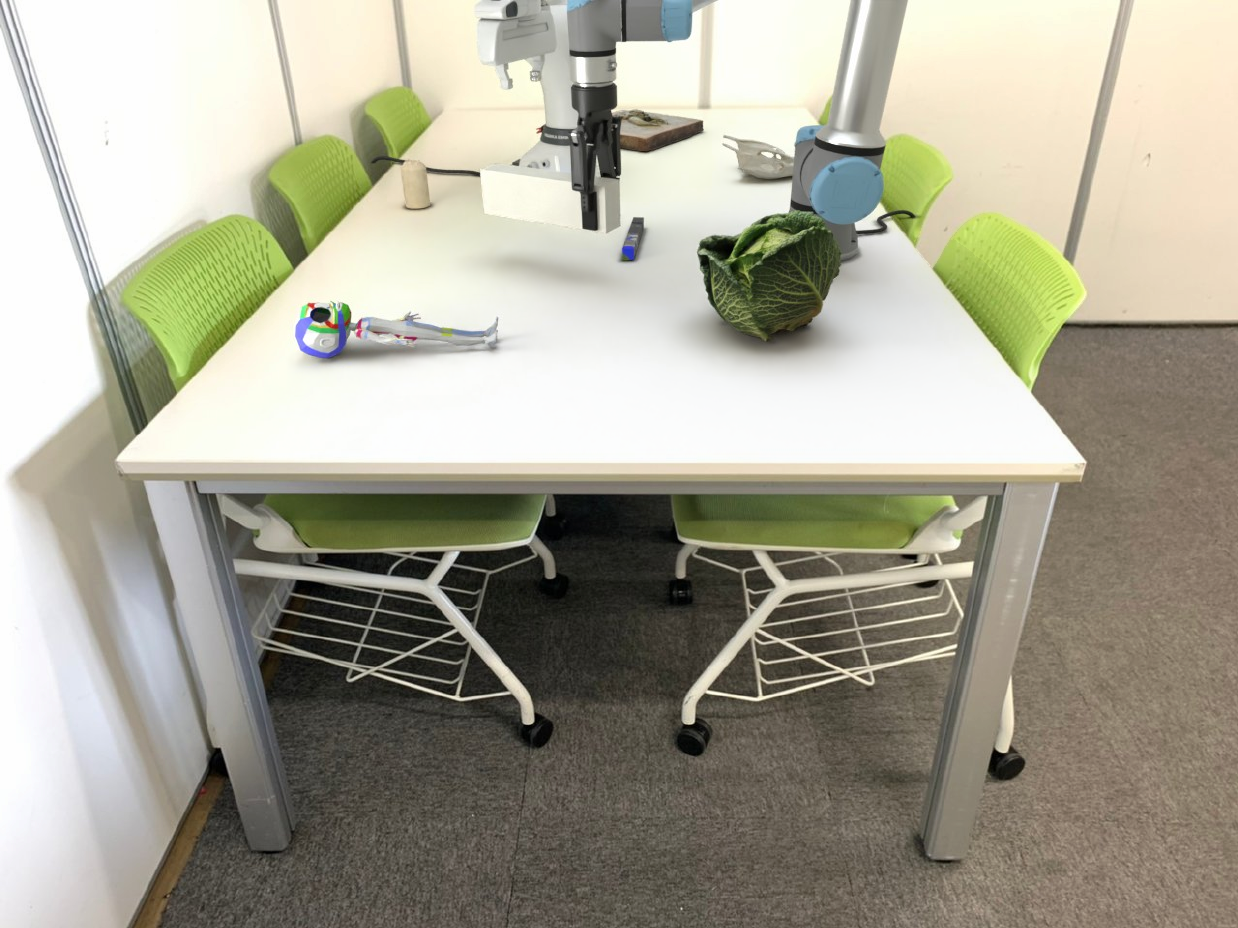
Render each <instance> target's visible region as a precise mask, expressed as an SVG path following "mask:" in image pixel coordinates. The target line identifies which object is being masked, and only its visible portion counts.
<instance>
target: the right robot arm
mask: <svg viewBox="0 0 1238 928" xmlns="http://www.w3.org/2000/svg"><path fill="white" fill-rule="evenodd" d="M717 1H718V0H567V21H568V38H569V54H570V55H569V61H570V80H571V81H572V82H574V84H573V85H572V87H571V102H572V108H573V109H574V110H576V111H577V112H578V121H577V127H576V129H575V130H568V133H567V135H568V139H569V143H570V158H571V181H572V190H573V191H577V192H580V195H581V210H582V229H586V230H593V231H597V230H598V219H597V192H593V190H594V179H595V168H596V162H597V166H598V172H599V176H600V177H604V178H611V179H619V180H620V181H621V178H620V177H621V175H622V154H621V153H622V152H621V151H622V150H621V149H622V148H621V145H620V129H621V122H622V119H621V117H618V116H612V113H613V112H612V111H613V110H614V109H616V108H617V107H618V85H617V83H615V81H616V80H617V79H618V77H617V67H618V63H617V43H627V42H667V43H672V42H676V41H686V40H688V39H689V38H690V37H691V35H692V30H693V13H695V12H698V11H700V10H702V9H704V8H706V7H707V6H709V5H712V4H714V3H716V2H717ZM908 3H909V0H850V2H849V6H848V13H847V17H846V23H845V28H844V33H843V38H842V44H841V49H840V54H839V60H838V65H837V66H838V67H837V70H836V76H835V81H834V86H833V91H832V96H831V102H830V107H829V113H828V118H827V123H826V124H815V125H813V124H812V125H805V126H802V127H800V128H798V130H797V132H796V137H795V142H794V144H793V146H794V154H793V155H794V156H793V157H794V167H793V176H792V179H791V192H790V193H791V194H790V204H789V210H788V212H787V213H790V212H792V211H793V210H797V211H798V210H799V211H801V212H813V213H814V215H815V216H817V217H819V218H822V219H823V221H824V222H825V226H826V229H827V231H830V230H831V232H832V234H833V235H834V239H835V241H836V242H837V243H838V245H839V249H840V251H841V253H842V254H841V256H840V262H843V261H844V262H845V261H847V260H850V259H852V258H854V257H855V256H856V255H857V253H858V247H859V239H858V235H869V234H879V233H883V232H885V231H886V230H887V229H888V225H887V223H885V222H884V221H883V220H884V219H888V218H889V217H892V216H897V215H906V216H909V217H910V218H912V219H915V218H916V215H915V214H914V213H913V212H912V211H910V210H906V209H899V210H893V211H889V212H887V213H883V214H882V215H879V216H878V217H877V219H876V222H877V223H878V224H879V226H881V227H880V228H875V229H860V230H857V228H856V224H855V223H858V222H860V221H863V220H864V219H865V218H867V217H868V216H869V215H871V214H872V213H873V212H874V211H875V210H876V208H877V207H878V206H879V204H880V202H881V201H882V198H883V194H884V189H885V181H884V175H883V173H882V170H881V168H882V163H883V159H884V155H885V150H886V146H887V140H886V139H885V137H884V136H883V134H882V132H881V125H882V121H883V116H884V111H885V107H886V103H887V98H888V93H889V89H890V84H891V79H892V75H893V70H894V65H895V61H896V58H897V53H898V48H899V44H900V39H901V34H902V30H903V26H904V20H905V16H906V12H907V7H908ZM586 144H593V145H586Z"/></svg>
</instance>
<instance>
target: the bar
mask: <svg viewBox="0 0 1238 928" xmlns="http://www.w3.org/2000/svg"><path fill="white" fill-rule="evenodd" d="M479 172H480V176H479V177H480V185H481V195H482V204H483V214H484V215H489V216H495V217H501V218H508V219H513V220H519V221H524V222H525V221H526V222H531V223H539V224H543V225H551V226H556V227H562V228H569V229H572V230H573V229H575V230H579V231H585V232H586V231H587V232H591V233H596V234H597V233H598V234H603V235H607V234H609V233H611V232H613V231H614V230H616V229H618V228H620V227H621V187H620V186H621V182H620V181H621V179H620V180H619V179H611V178H604V177H596V176H595V179H594V190H593V192H597V219H598V230H597V231H593V230H586V229H582V210H581V195H580V192H577V191H573V190H572V181H571V173H566V172H559V171H551V170H544V169H536V168H529V167H521V166H514V165H512V164H504V163H498V162H496V163H492V164H490V165H487V166H484V167H483V168H479Z"/></svg>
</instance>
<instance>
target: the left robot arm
mask: <svg viewBox="0 0 1238 928" xmlns="http://www.w3.org/2000/svg"><path fill="white" fill-rule="evenodd" d="M473 11H474V12H473V13H474V16H475V18H476V19H478V21H477V23H476V28H475V29H476V32H475V33H476V45H477V55H478V58H479V60H480V62H481V64H482V65H483V66H489V67H494V71H495V73H496V75H497V78H498V79H499V83H500V89H501V90H502V91H503V90H504V91H509V90H511V89H512V90H513V88H514V84H513V81H514V80H513V78H511V77H510V75H509V73H508V70H509V64H510V63H511V64H512V63H514V62H518V61H519V62H520V61H522V60H523V61H524V60H525V61H526V62H527V63H528V64H529V65H530V66H531V70H530V71H529V79H530V81H531V82H539V83H540V86H541V90H542V97H543V106H544V118H545V119H544V120H545V123H544V124H543V125H541V126H540V127H537V128H535V130H536V132H535V133H536V134H540V138H539V141H538V142H536V143H535V144H534V145H533V146H532V147H530V149H529V150H527V151H526V152H525V153H524V154H523V155H522V156H521V157H520V158H519V159H517V160H515V161H512V162H511V163H512V164H511V165H514V166H521V167H529V168H536V169H544V170H551V171H559V172H566V173H571V158H570V143H569V139H568V135H567V133H568V130H575V129H576V127H577V121H578V112H577V111H576V110H574V109H573V108H572V102H571V87H572V85H573V84H574V82H572V81H571V80H570V61H569V55H570V54H569V38H568V21H567V0H480V1H479V2H477V3H476V4H474V7H473ZM586 145H593V144H586ZM382 160H383V161H390V162H394V163H398V164H403V163H404V162H405V161H406V160H407V159H401V158H396V157H392V156H386V155H380V156H379V155H378V156H376V157H375V158H373V159H372V160H371V162H370V164H376V163H377V162H379V161H382ZM426 172H430V173H436V174H451V175H452V174H454V175H455V174H457V175H458V174H459V175H473V176H478V177H481V176H480V171H476V170H470V169H441V168H433V167H428V166H426ZM595 176H596V177H600V172H599V167H598V161H596V168H595Z"/></svg>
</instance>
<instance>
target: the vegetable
mask: <svg viewBox="0 0 1238 928" xmlns="http://www.w3.org/2000/svg"><path fill="white" fill-rule="evenodd" d="M698 245H699V246H698V248H697V251H696V253H697V258H698V262H699V270H700V272H701V273H702V274H703V278H702V279H703V284H704V287H705V292H706V293H707V300H708V302H709V304H710V306H711V307H712V308H713V309H714V310H715V312H716V313H717V315H718V316H719V317H720V319H721V320H723V322H727V323H728V324H729V325H730V326H731V328H733V329H734V330H736V331H737V332H739V333H740V334H741V333H742V334H743V335H747V336H750V337H757V338H760V339H762V340H763V342H768V340H769V339H772V340H773V339H774V337H773V336H772V335H773V334H775V333H776V332H778V331H779V330H786V331H790V332H793V331H794V330H795V329H796V328H798V327H808V324H810V323H812V322H813V320H814V318H815V317H817V316H818V315H820V313H822V312H821V311H822V309H823V306H824V301H825V300H826V298H827V297H828V295H829V292H830V289H831V285H832V284H833V282H834V280H835V278H837V277H838V276H839V275H840V267H841V266H842V264H841V261H840V256H841V254H842V253H841V251H840V249H839V245H838V243H837V242H836V241H835V239H834V235H833V234H832V232H831V230H830V231H827V229H826V226H825V222H824V221H823V219H822V218H819V217H817V216H815V215H814V213H813V212H801V211H799V210H798V211H797V210H793V211H792V212H790V213H788V212H785V213H774V214H769V215H766V216H764V217H762V218H759V219H758V220H756V221H754V222H753V223H751V224H750V226H747V227H746V228H744V229H743V230H742V231H741V233H737V234H736V235H725V234H722V235H719V234H712V235H710V236H707V237H704V238H703V239H701V240H700V241H699V243H698Z"/></svg>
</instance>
